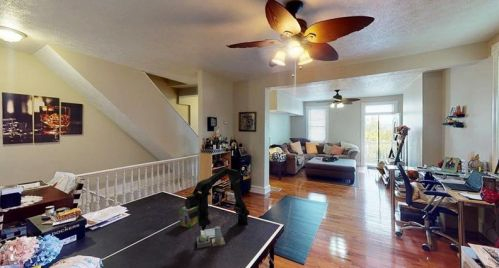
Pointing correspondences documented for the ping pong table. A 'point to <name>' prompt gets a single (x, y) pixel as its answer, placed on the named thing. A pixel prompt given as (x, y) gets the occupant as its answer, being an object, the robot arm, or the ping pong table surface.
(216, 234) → the chalk stick
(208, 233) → the sheet
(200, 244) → the button housing
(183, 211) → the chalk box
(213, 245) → the cork pad
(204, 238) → the button
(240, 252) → the ping pong table surface
